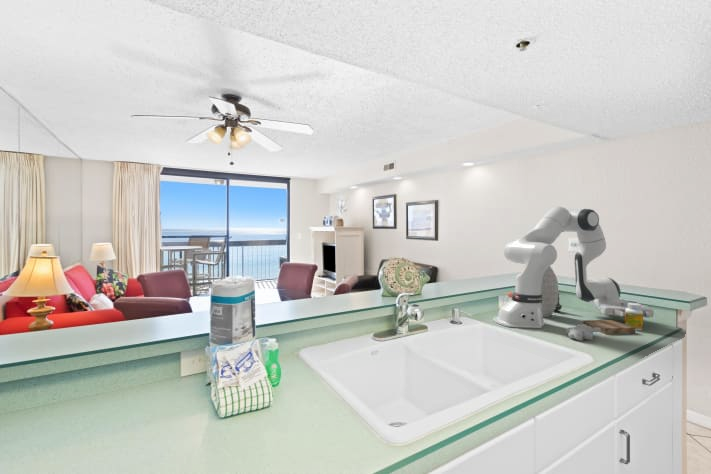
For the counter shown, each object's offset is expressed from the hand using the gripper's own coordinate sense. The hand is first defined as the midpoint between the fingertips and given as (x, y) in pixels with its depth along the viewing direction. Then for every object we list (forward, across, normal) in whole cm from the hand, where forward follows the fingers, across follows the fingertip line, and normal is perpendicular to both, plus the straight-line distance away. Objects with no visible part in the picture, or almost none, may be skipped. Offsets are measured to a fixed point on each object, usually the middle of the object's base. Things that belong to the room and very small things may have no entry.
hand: (636, 315), depth 146 cm
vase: (-16, -33, +7) cm, 37 cm away
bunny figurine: (+17, -29, +7) cm, 34 cm away
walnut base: (+3, -12, +6) cm, 14 cm away
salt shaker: (-26, -23, +7) cm, 36 cm away
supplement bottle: (-1, 0, +7) cm, 7 cm away
